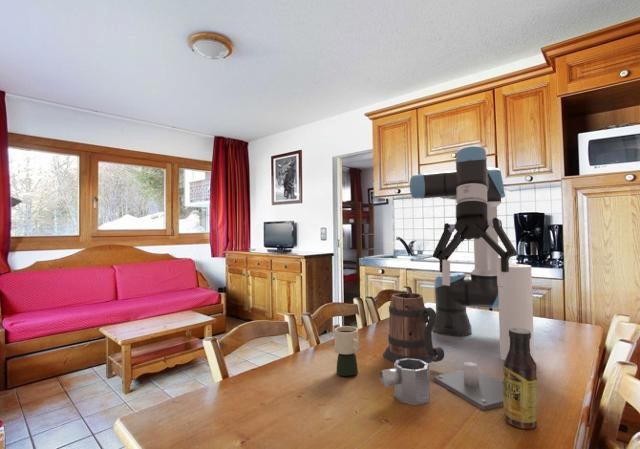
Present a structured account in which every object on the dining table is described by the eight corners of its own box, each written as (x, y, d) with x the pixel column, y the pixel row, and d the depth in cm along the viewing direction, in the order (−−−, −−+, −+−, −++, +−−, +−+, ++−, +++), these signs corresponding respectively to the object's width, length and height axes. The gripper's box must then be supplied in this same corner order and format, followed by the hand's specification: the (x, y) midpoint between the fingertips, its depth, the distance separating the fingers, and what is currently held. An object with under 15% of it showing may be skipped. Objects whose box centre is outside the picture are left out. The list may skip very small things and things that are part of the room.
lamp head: (415, 387, 92) (415, 356, 92) (435, 400, 85) (434, 367, 85) (376, 395, 88) (375, 363, 88) (393, 410, 81) (392, 375, 81)
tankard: (372, 352, 119) (371, 293, 120) (411, 344, 127) (410, 289, 127) (419, 377, 98) (417, 306, 98) (463, 366, 105) (461, 300, 106)
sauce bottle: (497, 416, 77) (494, 326, 78) (524, 414, 78) (521, 324, 78) (516, 433, 71) (513, 334, 71) (545, 430, 71) (542, 333, 72)
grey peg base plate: (432, 379, 97) (432, 357, 97) (472, 371, 101) (471, 350, 102) (484, 410, 80) (483, 383, 80) (528, 398, 85) (527, 373, 85)
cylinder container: (539, 365, 105) (536, 265, 105) (505, 363, 107) (502, 265, 107) (527, 354, 114) (524, 262, 115) (496, 353, 116) (493, 262, 116)
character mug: (368, 377, 99) (367, 331, 99) (347, 383, 95) (346, 335, 95) (346, 365, 108) (345, 323, 108) (327, 370, 105) (326, 326, 105)
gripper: (421, 206, 98) (419, 283, 93) (518, 191, 80) (522, 285, 75) (434, 213, 102) (433, 286, 98) (529, 200, 84) (533, 288, 80)
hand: (472, 286), depth 86 cm, fingers open, 13 cm apart
